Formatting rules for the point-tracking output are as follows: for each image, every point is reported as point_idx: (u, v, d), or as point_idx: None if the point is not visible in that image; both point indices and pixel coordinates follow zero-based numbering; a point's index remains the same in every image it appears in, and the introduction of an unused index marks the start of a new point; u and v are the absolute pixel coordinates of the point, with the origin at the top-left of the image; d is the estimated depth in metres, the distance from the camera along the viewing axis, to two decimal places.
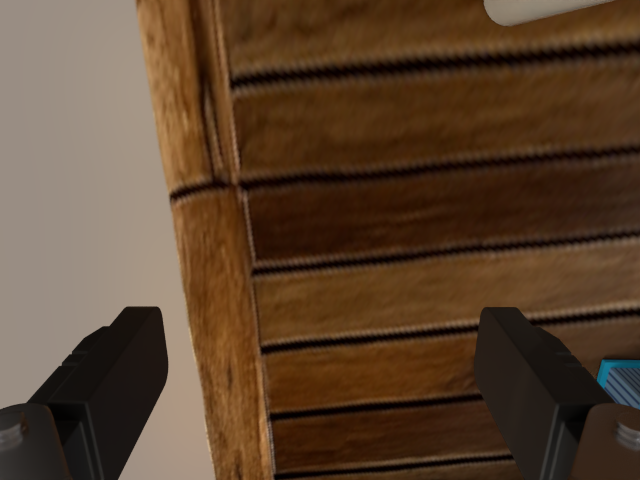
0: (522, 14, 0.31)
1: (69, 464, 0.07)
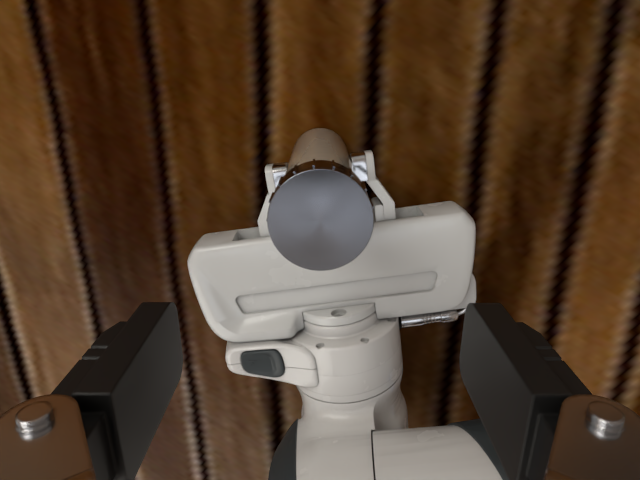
0: (293, 150, 0.32)
1: (94, 454, 0.08)
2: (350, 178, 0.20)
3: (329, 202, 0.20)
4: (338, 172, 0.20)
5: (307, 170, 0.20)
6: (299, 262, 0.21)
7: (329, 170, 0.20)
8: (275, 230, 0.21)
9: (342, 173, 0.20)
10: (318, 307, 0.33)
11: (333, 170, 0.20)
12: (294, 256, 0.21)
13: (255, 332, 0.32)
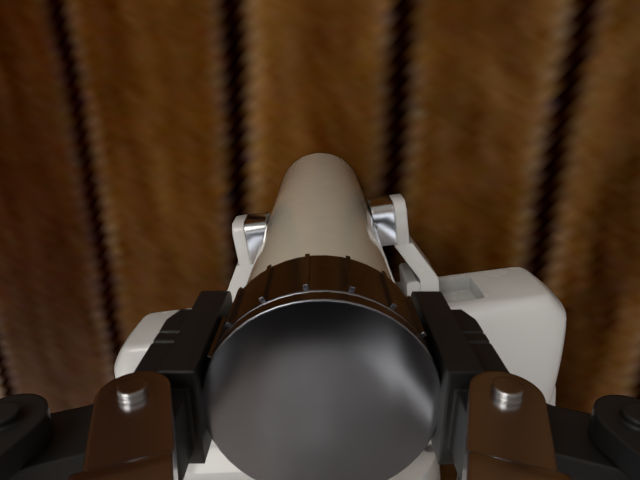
0: (279, 192, 0.20)
1: (181, 427, 0.08)
2: (392, 319, 0.08)
3: (342, 368, 0.09)
4: (364, 306, 0.08)
5: (290, 302, 0.08)
6: None
7: (342, 303, 0.08)
8: (221, 423, 0.09)
9: (373, 308, 0.08)
10: None
11: (352, 302, 0.08)
12: (264, 471, 0.10)
13: (220, 472, 0.21)
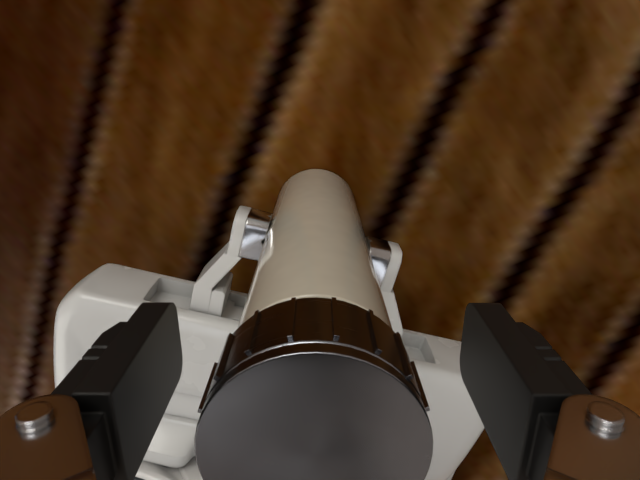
0: (288, 199, 0.20)
1: (94, 453, 0.08)
2: (284, 356, 0.08)
3: (294, 417, 0.09)
4: (255, 364, 0.08)
5: (206, 403, 0.09)
6: None
7: (237, 375, 0.08)
8: None
9: (264, 359, 0.08)
10: None
11: (245, 368, 0.09)
12: None
13: None
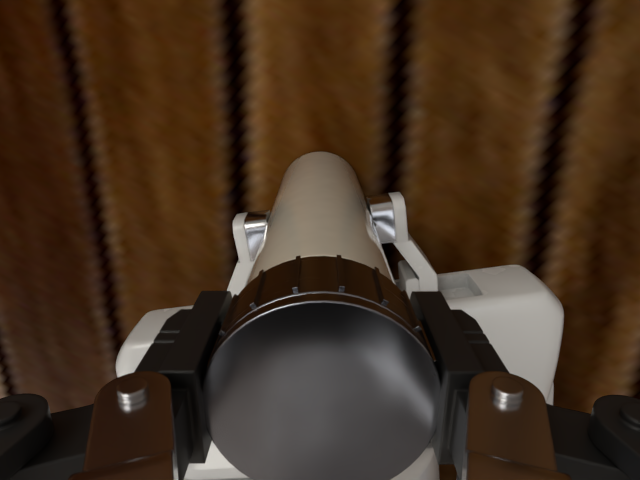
0: (279, 191, 0.21)
1: (181, 427, 0.08)
2: (247, 323, 0.08)
3: (285, 379, 0.09)
4: (226, 341, 0.09)
5: (202, 393, 0.09)
6: (391, 470, 0.10)
7: (214, 357, 0.09)
8: None
9: (232, 332, 0.09)
10: None
11: (218, 347, 0.09)
12: (373, 475, 0.10)
13: (221, 468, 0.21)
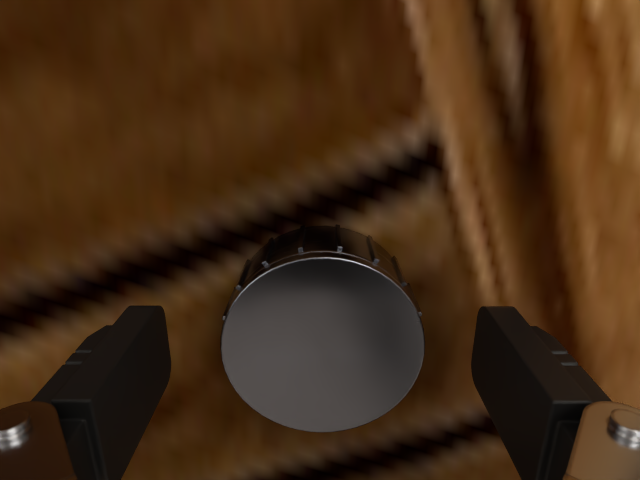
0: None
1: (74, 462, 0.07)
2: (260, 276, 0.10)
3: (292, 325, 0.10)
4: (242, 291, 0.10)
5: (221, 338, 0.11)
6: (381, 408, 0.11)
7: (232, 305, 0.10)
8: (307, 421, 0.11)
9: (247, 285, 0.10)
10: None
11: (236, 298, 0.10)
12: (366, 411, 0.11)
13: None
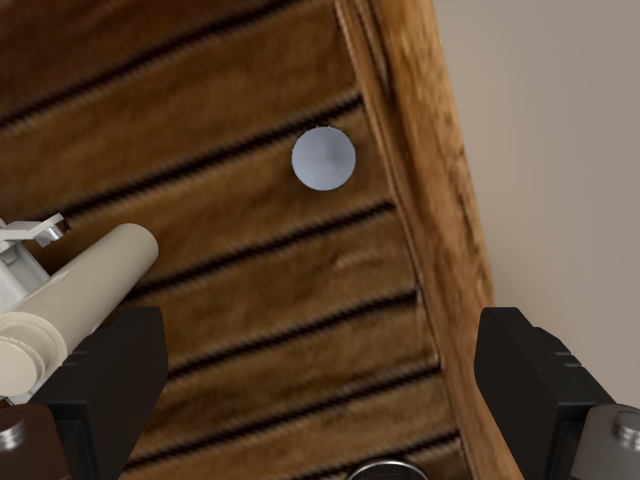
0: (108, 245, 0.34)
1: (69, 464, 0.07)
2: (305, 133, 0.34)
3: (314, 150, 0.34)
4: (299, 138, 0.34)
5: (292, 154, 0.34)
6: (342, 180, 0.35)
7: (296, 142, 0.34)
8: (318, 186, 0.35)
9: (301, 136, 0.34)
10: None
11: (297, 140, 0.34)
12: (337, 182, 0.35)
13: None
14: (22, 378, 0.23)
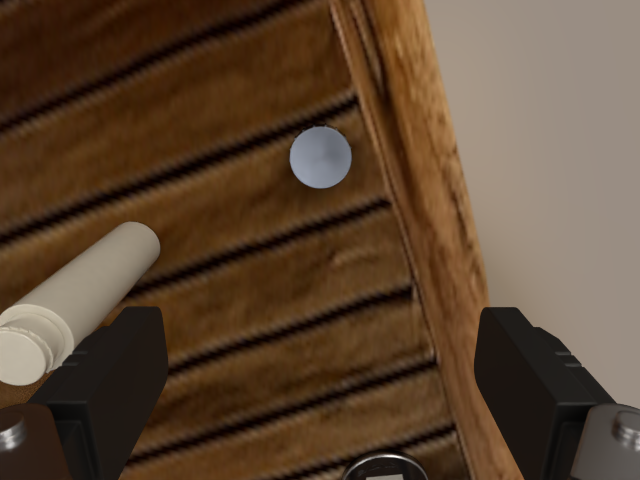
0: (112, 242, 0.35)
1: (69, 464, 0.07)
2: (302, 132, 0.35)
3: (311, 149, 0.35)
4: (297, 138, 0.35)
5: (290, 153, 0.35)
6: (339, 179, 0.36)
7: (294, 142, 0.35)
8: (315, 184, 0.36)
9: (298, 136, 0.35)
10: None
11: (295, 140, 0.35)
12: (334, 180, 0.36)
13: None
14: (32, 367, 0.24)
